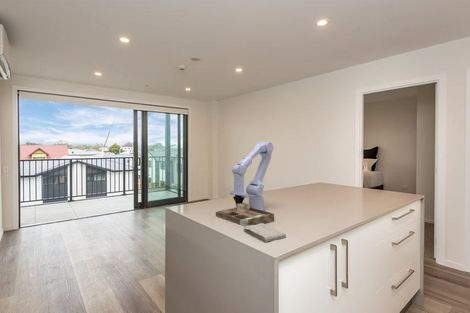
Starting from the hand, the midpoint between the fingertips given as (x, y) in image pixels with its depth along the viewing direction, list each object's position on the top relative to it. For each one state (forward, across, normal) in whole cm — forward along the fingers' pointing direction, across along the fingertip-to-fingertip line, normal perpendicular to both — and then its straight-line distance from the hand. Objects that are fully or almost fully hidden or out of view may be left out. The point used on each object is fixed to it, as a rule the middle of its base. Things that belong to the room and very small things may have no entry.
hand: (238, 208), depth 146 cm
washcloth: (+4, +33, -14) cm, 36 cm away
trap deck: (+3, +9, -4) cm, 11 cm away
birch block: (+1, +4, 0) cm, 4 cm away
